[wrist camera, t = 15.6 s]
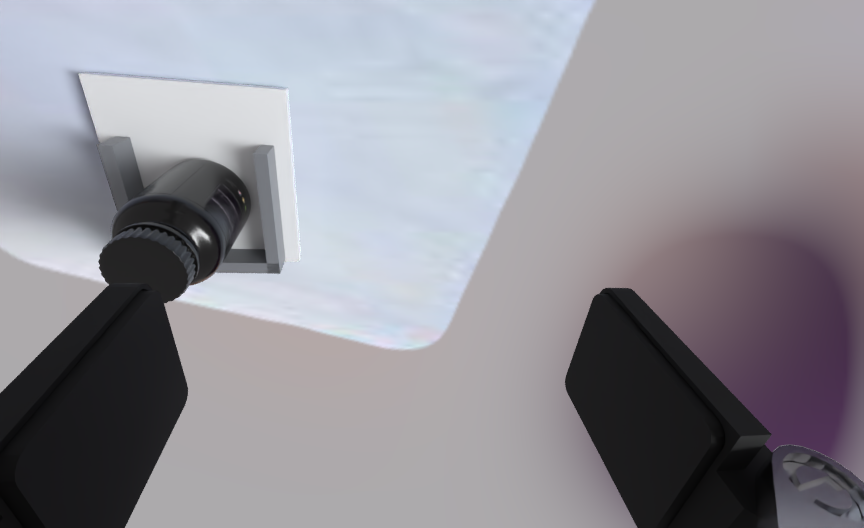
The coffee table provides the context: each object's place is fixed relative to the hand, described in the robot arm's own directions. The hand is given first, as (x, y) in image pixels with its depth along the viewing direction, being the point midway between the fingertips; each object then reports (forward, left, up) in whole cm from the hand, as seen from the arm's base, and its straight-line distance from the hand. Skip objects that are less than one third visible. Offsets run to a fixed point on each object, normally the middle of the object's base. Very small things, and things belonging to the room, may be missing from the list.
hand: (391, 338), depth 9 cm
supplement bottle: (+8, -14, -28) cm, 32 cm away
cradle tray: (+6, -14, -28) cm, 32 cm away
